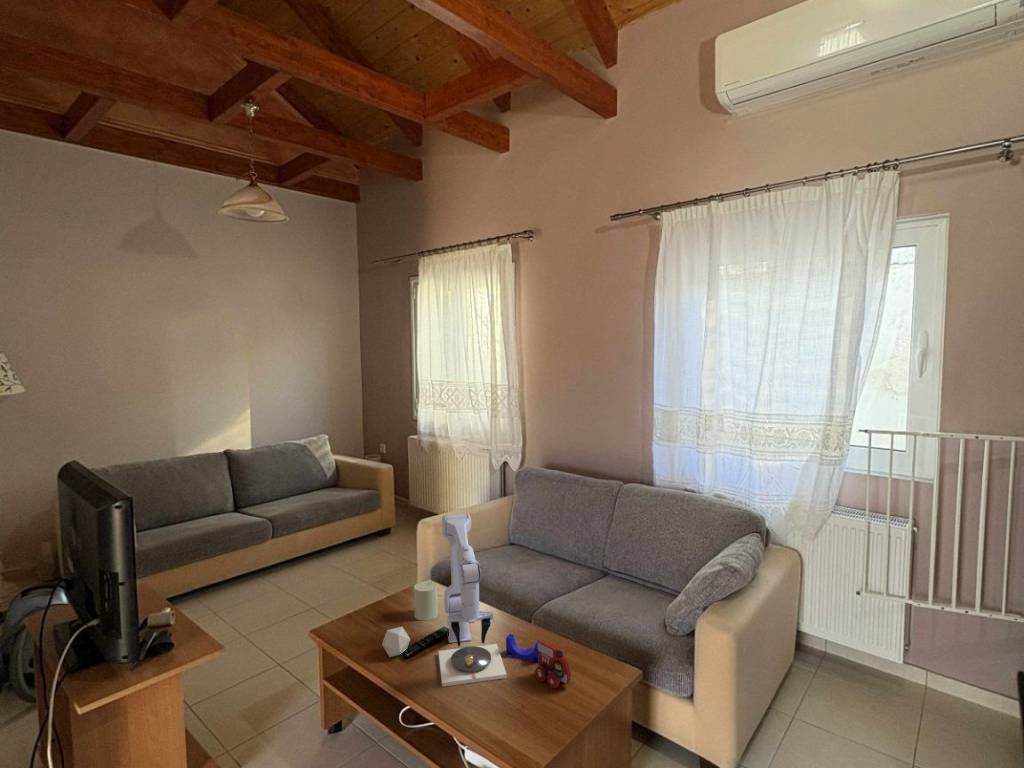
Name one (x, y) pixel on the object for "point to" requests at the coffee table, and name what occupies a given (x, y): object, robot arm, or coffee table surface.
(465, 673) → the wheel base
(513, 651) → the cable clip
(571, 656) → the coffee table surface
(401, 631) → the die
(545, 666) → the toy fire truck
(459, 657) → the handwheel
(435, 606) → the can
